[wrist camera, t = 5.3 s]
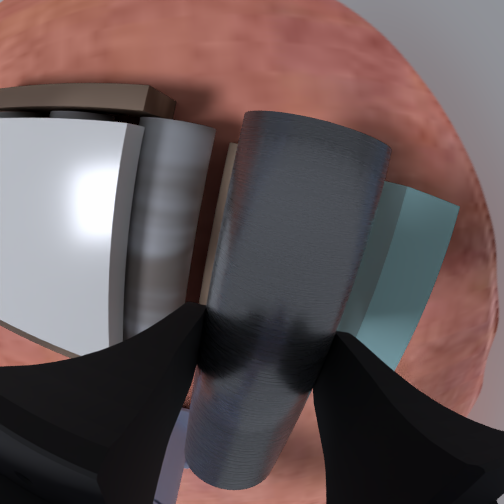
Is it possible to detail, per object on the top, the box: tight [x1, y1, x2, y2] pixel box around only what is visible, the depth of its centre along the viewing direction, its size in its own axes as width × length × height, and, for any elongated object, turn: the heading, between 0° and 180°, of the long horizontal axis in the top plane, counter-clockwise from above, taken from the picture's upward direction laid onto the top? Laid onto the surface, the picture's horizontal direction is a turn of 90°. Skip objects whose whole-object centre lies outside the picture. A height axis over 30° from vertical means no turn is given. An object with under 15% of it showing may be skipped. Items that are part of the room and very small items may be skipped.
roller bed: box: [0, 83, 238, 358], centre depth 16 cm, size 16×25×5 cm, turn 78°
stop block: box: [337, 181, 460, 371], centre depth 16 cm, size 12×3×6 cm, turn 168°
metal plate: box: [0, 118, 145, 356], centre depth 13 cm, size 12×14×2 cm
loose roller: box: [184, 111, 392, 490], centre depth 10 cm, size 13×4×4 cm, turn 168°
